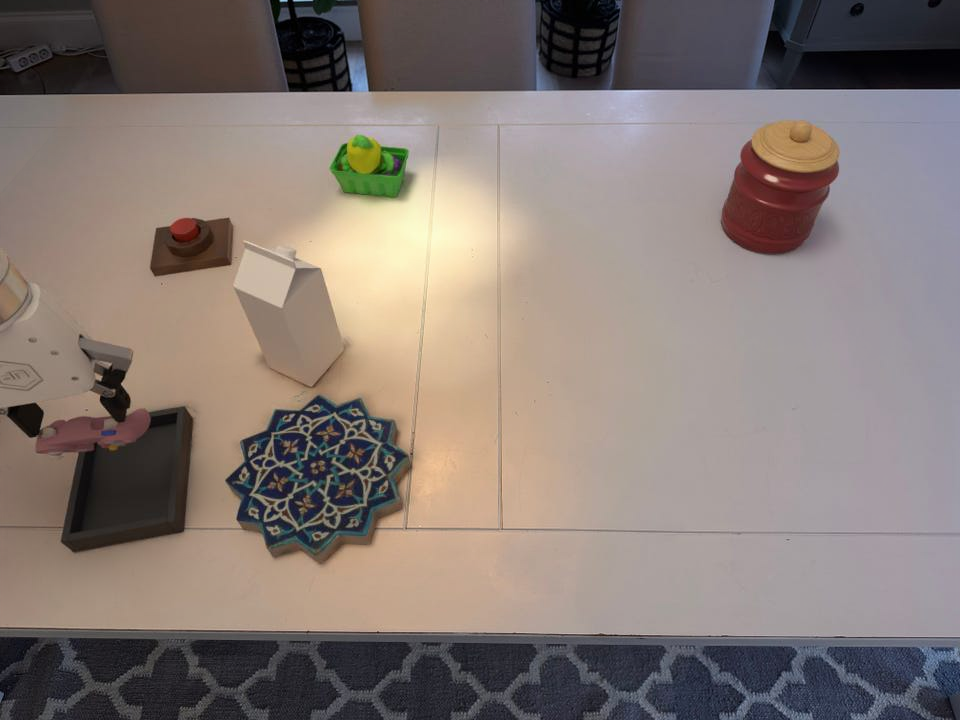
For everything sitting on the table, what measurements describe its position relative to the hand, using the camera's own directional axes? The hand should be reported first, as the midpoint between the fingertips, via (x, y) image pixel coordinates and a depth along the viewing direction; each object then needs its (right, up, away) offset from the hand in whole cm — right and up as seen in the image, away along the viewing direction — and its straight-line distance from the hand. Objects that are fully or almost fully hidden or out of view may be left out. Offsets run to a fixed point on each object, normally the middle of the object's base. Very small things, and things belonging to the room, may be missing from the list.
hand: (80, 417), depth 67 cm
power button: (-3, +24, +32) cm, 41 cm away
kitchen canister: (+83, +26, +35) cm, 93 cm away
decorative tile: (+22, -8, +10) cm, 25 cm away
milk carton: (+17, +6, +21) cm, 28 cm away
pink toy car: (0, -3, +4) cm, 5 cm away
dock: (0, -8, +10) cm, 13 cm away
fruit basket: (+22, +34, +43) cm, 59 cm away
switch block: (-3, +22, +35) cm, 41 cm away
